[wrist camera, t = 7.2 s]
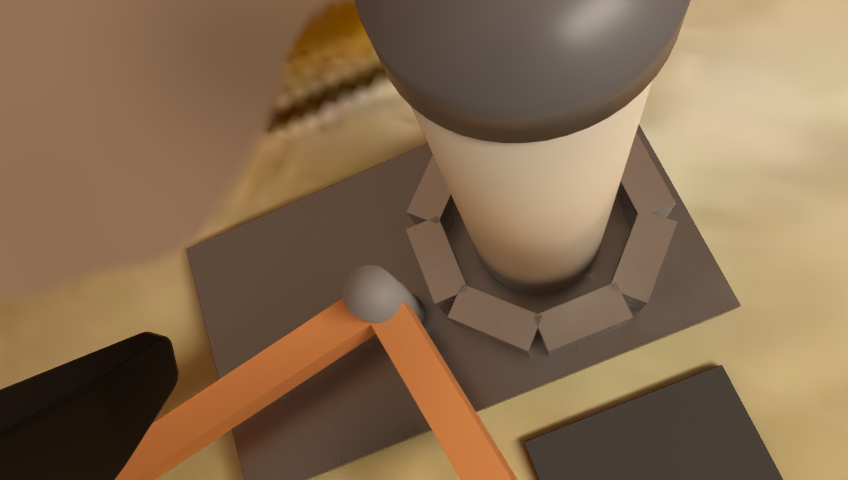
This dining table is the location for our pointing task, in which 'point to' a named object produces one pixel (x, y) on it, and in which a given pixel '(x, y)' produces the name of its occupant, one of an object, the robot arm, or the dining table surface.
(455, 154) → the plug
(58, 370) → the robot arm
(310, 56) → the dining table surface
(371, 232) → the socket plate
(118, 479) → the clip
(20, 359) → the dining table surface
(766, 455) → the pad
